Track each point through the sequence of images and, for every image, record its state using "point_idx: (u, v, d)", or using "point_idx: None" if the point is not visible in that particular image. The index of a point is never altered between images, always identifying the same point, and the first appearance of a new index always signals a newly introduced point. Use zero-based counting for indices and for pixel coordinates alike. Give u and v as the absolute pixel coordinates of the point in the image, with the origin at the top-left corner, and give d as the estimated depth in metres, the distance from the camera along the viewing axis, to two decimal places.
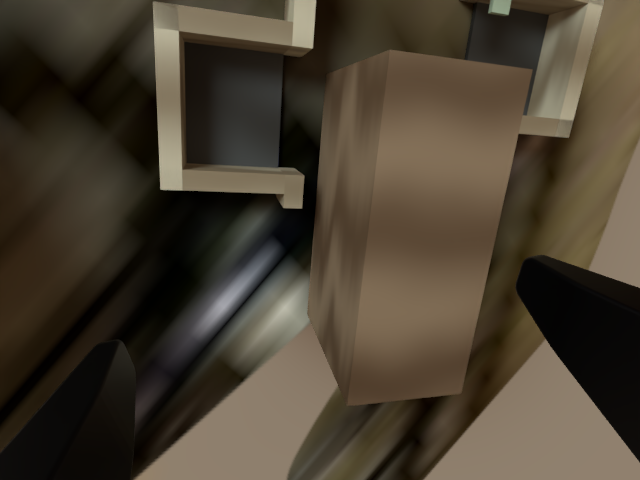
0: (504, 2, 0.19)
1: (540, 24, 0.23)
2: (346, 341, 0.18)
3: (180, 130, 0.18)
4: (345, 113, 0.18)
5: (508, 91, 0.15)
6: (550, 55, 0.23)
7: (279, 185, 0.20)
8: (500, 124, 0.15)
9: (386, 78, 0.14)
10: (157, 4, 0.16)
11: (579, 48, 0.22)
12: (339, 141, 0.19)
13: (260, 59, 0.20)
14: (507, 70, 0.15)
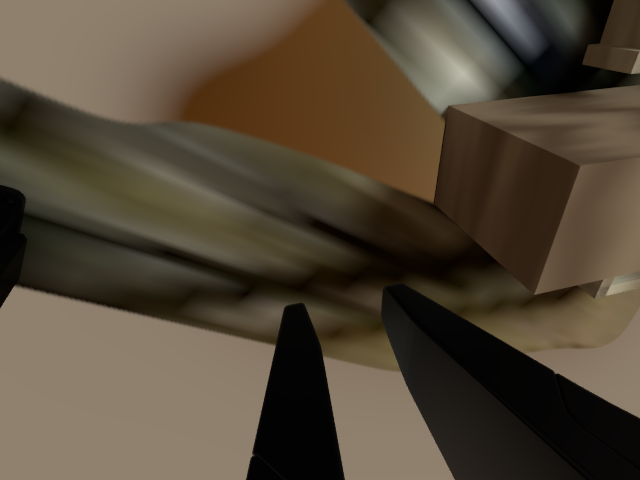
0: None
1: None
2: (616, 146, 0.15)
3: None
4: None
5: None
6: None
7: None
8: None
9: None
10: None
11: None
12: None
13: None
14: None
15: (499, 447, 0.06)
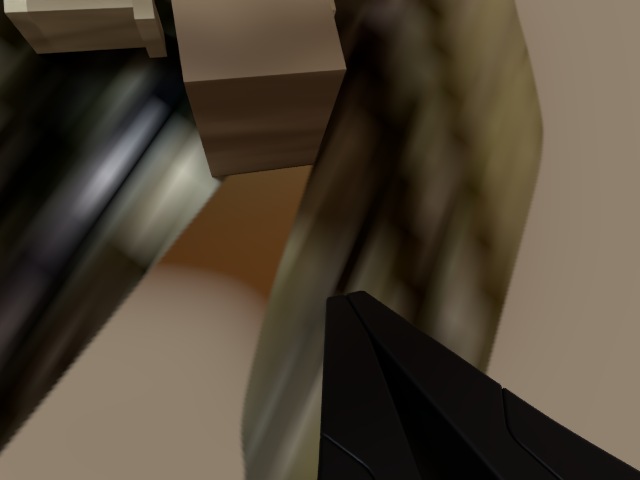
0: None
1: None
2: None
3: None
4: None
5: None
6: None
7: (126, 0, 0.20)
8: None
9: None
10: None
11: None
12: None
13: None
14: None
15: (443, 464, 0.05)
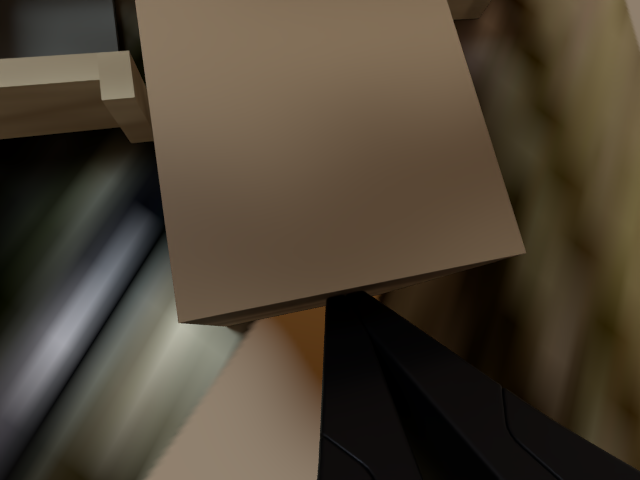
0: None
1: None
2: None
3: None
4: None
5: None
6: None
7: (89, 68, 0.13)
8: None
9: None
10: None
11: None
12: None
13: None
14: None
15: (443, 464, 0.05)
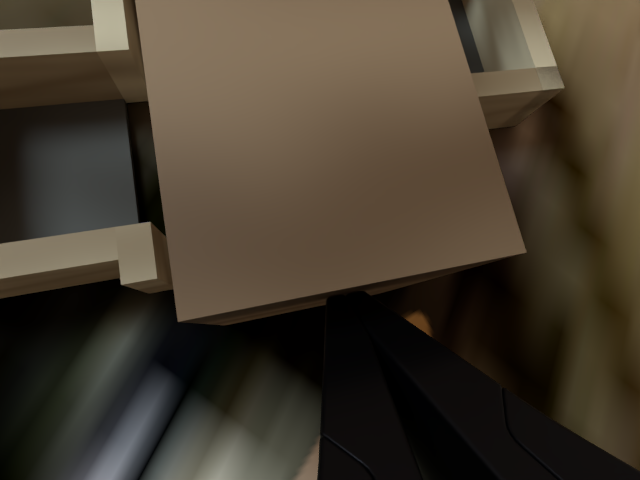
0: None
1: (455, 6, 0.19)
2: None
3: None
4: None
5: None
6: (483, 24, 0.18)
7: (106, 246, 0.11)
8: None
9: None
10: None
11: None
12: None
13: (91, 110, 0.15)
14: None
15: (443, 464, 0.05)
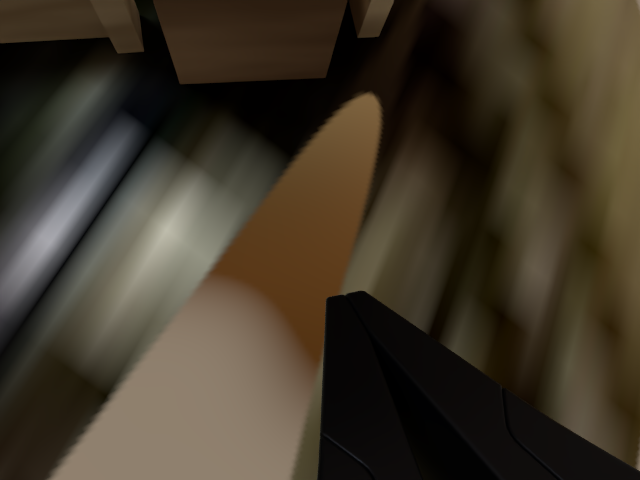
0: None
1: None
2: None
3: None
4: None
5: None
6: None
7: None
8: None
9: None
10: None
11: None
12: None
13: None
14: None
15: (443, 464, 0.05)
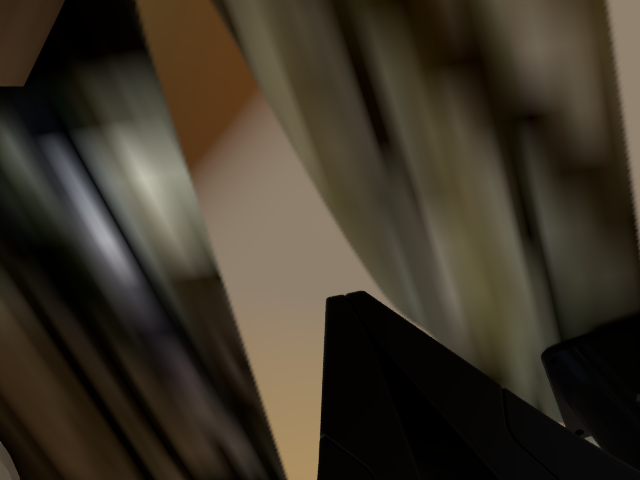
0: None
1: None
2: None
3: None
4: None
5: None
6: None
7: None
8: None
9: None
10: None
11: None
12: None
13: None
14: None
15: (443, 464, 0.05)
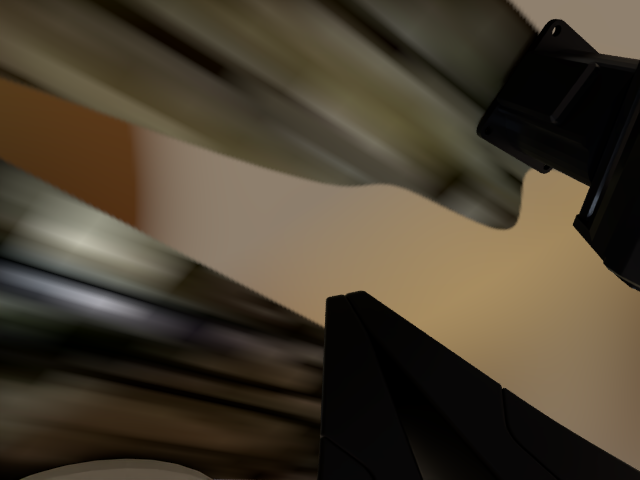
0: None
1: None
2: None
3: None
4: None
5: None
6: None
7: None
8: None
9: None
10: None
11: None
12: None
13: None
14: None
15: (443, 464, 0.05)
